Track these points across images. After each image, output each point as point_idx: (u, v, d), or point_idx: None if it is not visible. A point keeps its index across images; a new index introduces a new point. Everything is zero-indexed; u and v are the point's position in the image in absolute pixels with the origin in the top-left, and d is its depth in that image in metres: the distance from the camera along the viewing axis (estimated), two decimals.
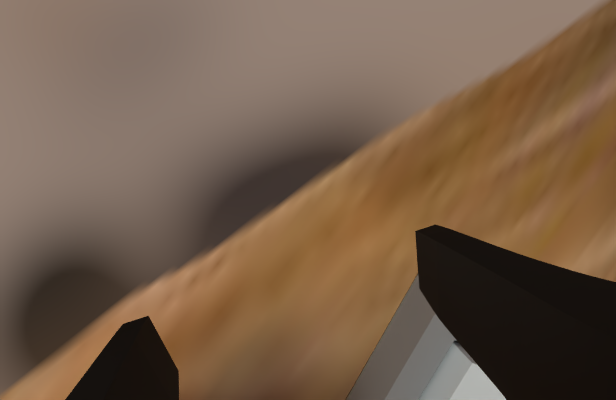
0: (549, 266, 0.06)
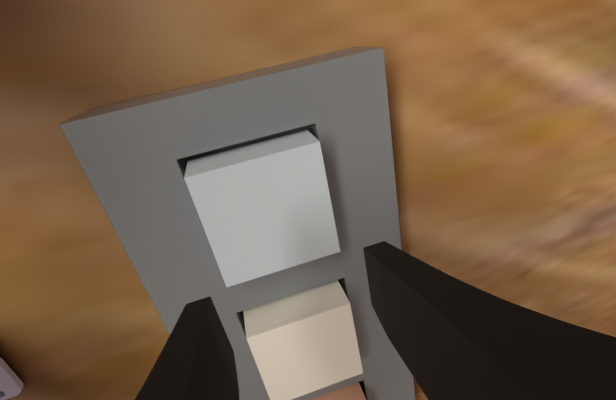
0: (477, 291, 0.06)
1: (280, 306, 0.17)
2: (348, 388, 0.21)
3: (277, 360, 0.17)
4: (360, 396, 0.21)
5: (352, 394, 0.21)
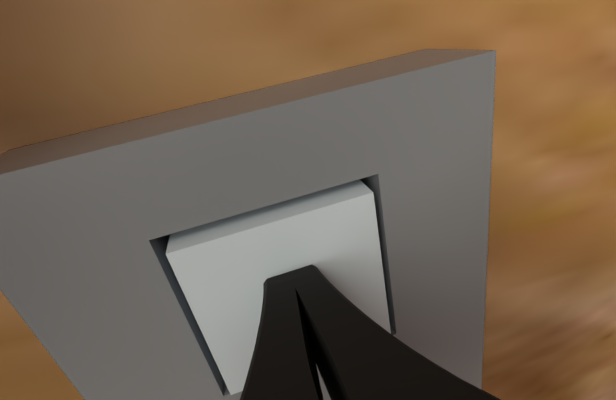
0: (373, 328, 0.06)
1: None
2: None
3: None
4: None
5: None
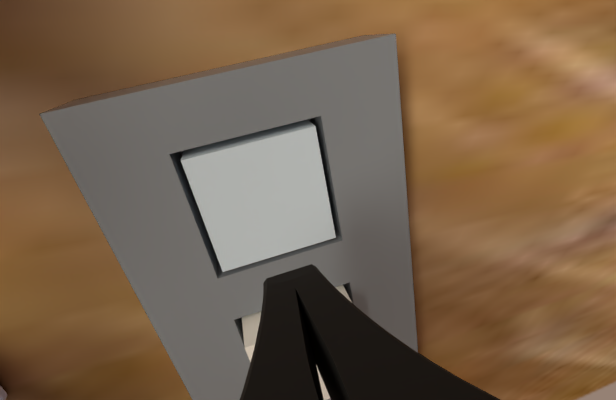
0: (373, 328, 0.06)
1: None
2: None
3: None
4: None
5: None
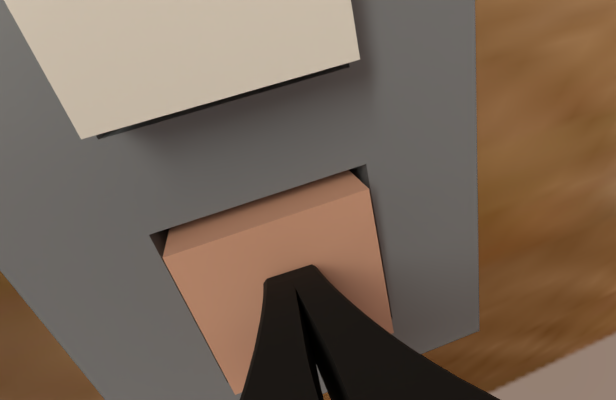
0: (374, 328, 0.06)
1: None
2: None
3: None
4: (348, 179, 0.09)
5: (330, 181, 0.09)
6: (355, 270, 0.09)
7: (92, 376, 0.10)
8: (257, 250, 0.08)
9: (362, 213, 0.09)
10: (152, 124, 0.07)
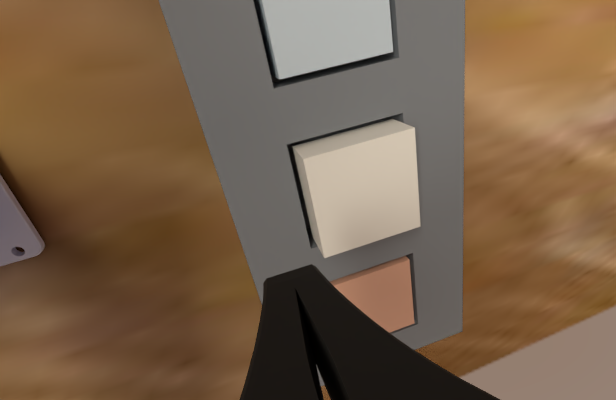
0: (373, 328, 0.06)
1: (334, 139, 0.15)
2: None
3: (334, 195, 0.15)
4: None
5: None
6: (400, 293, 0.20)
7: None
8: (361, 285, 0.19)
9: (405, 269, 0.20)
10: None
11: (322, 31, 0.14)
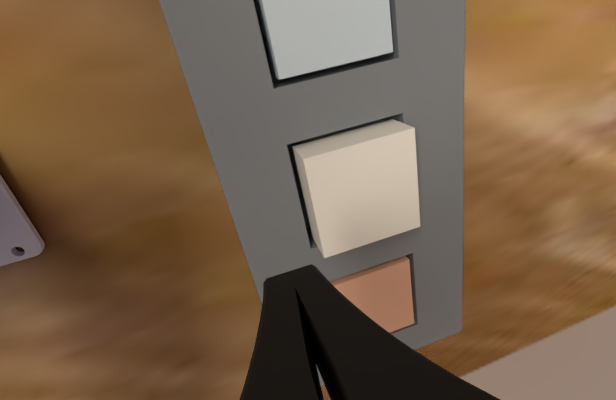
0: (374, 328, 0.06)
1: (334, 140, 0.15)
2: None
3: (334, 195, 0.15)
4: None
5: None
6: (399, 293, 0.20)
7: None
8: (361, 285, 0.19)
9: (405, 269, 0.20)
10: None
11: (322, 31, 0.14)
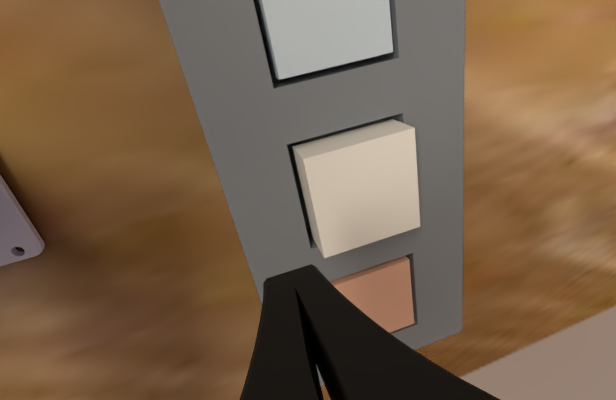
0: (374, 328, 0.06)
1: (334, 140, 0.15)
2: None
3: (334, 195, 0.15)
4: None
5: None
6: (399, 293, 0.20)
7: None
8: (361, 285, 0.19)
9: (405, 269, 0.20)
10: None
11: (322, 31, 0.14)
